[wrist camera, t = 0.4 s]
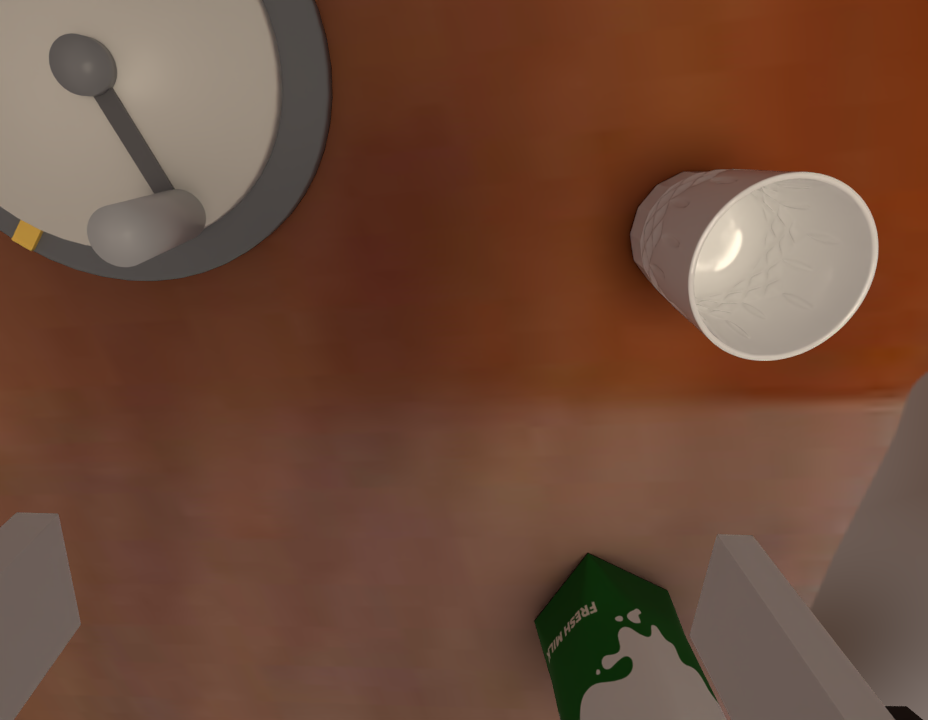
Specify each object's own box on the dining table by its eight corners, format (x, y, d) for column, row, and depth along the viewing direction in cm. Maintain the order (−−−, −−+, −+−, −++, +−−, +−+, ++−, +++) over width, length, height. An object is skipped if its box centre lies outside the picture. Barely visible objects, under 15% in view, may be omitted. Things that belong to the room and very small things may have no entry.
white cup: (614, 301, 35) (678, 364, 26) (624, 160, 33) (701, 174, 23) (745, 297, 36) (856, 358, 26) (767, 157, 33) (900, 169, 24)
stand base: (-141, -214, 25) (-194, -245, 23) (337, -145, 27) (329, -169, 25) (-46, 255, 33) (-80, 264, 30) (328, 287, 34) (321, 298, 32)
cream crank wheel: (-168, -35, 26) (-389, -95, 19) (151, -222, 24) (37, -363, 17) (72, 297, 32) (-30, 345, 25) (345, 164, 30) (318, 176, 23)
